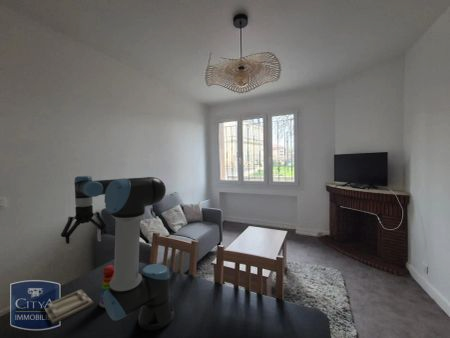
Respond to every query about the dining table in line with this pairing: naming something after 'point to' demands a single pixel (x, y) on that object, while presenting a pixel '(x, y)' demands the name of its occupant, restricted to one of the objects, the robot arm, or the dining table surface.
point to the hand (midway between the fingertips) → (85, 244)
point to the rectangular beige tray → (67, 306)
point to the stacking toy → (106, 281)
